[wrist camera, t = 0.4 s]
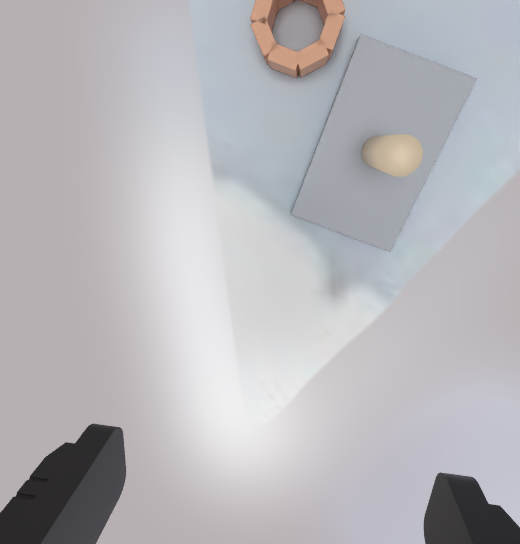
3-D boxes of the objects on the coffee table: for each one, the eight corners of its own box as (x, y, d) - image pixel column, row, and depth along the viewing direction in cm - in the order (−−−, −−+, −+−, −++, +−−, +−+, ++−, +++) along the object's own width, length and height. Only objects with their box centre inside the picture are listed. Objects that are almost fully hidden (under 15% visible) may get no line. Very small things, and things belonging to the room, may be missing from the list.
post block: (358, 38, 29) (382, -6, 20) (470, 80, 29) (542, 55, 20) (291, 212, 33) (287, 237, 25) (387, 248, 34) (416, 285, 25)
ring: (274, -29, 28) (270, -52, 25) (351, 1, 28) (357, -18, 25) (247, 59, 30) (241, 49, 27) (319, 86, 30) (321, 80, 27)
